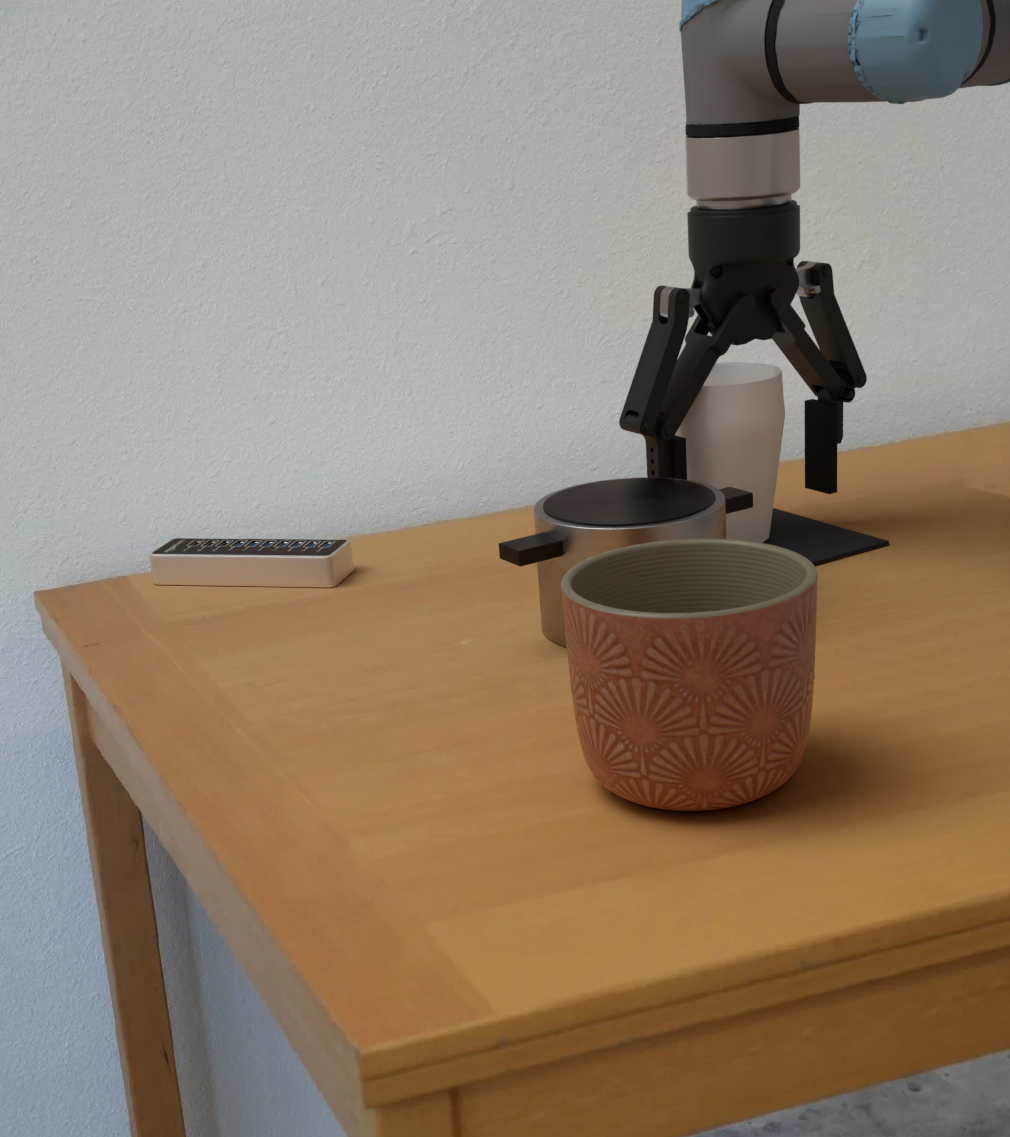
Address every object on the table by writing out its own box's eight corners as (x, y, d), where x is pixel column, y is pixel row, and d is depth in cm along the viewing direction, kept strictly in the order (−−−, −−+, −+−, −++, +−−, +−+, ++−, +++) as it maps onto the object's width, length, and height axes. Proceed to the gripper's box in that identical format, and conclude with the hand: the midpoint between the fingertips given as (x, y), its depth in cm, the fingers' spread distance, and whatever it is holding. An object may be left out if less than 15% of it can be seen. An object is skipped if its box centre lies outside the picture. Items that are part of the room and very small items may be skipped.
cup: (694, 518, 130) (689, 360, 126) (805, 527, 126) (804, 363, 121) (640, 550, 123) (633, 384, 119) (755, 561, 119) (753, 388, 114)
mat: (889, 544, 121) (889, 540, 121) (734, 588, 115) (734, 583, 115) (762, 508, 132) (762, 504, 132) (615, 546, 126) (614, 542, 126)
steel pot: (803, 612, 109) (802, 489, 106) (570, 681, 101) (561, 549, 98) (689, 572, 119) (685, 457, 116) (467, 632, 111) (457, 510, 107)
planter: (746, 852, 79) (741, 629, 75) (526, 802, 86) (510, 595, 82) (858, 755, 88) (860, 552, 84) (651, 717, 95) (643, 528, 91)
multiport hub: (334, 587, 122) (330, 556, 121) (151, 584, 126) (146, 554, 125) (355, 569, 126) (352, 538, 125) (177, 566, 130) (173, 537, 129)
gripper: (845, 178, 123) (844, 467, 131) (557, 220, 111) (575, 534, 120) (920, 181, 117) (914, 484, 125) (623, 226, 105) (638, 556, 114)
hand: (748, 509), depth 123 cm, fingers open, 13 cm apart
